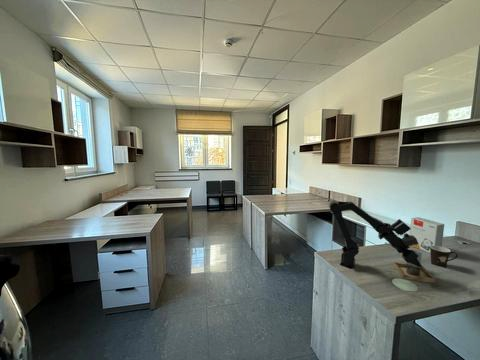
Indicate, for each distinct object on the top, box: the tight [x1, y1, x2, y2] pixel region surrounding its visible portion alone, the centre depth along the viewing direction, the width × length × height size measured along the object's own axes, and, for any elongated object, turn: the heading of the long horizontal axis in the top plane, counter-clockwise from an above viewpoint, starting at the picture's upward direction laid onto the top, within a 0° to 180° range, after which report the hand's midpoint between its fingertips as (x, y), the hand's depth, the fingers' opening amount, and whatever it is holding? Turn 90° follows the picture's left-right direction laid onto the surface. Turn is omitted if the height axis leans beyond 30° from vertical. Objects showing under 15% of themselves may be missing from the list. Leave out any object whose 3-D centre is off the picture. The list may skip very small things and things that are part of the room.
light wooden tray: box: [392, 261, 437, 284], centre depth 112 cm, size 14×14×2 cm
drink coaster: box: [391, 277, 419, 292], centre depth 103 cm, size 10×10×1 cm
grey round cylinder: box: [406, 249, 423, 276], centre depth 111 cm, size 6×6×12 cm
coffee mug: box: [429, 245, 458, 268], centre depth 119 cm, size 12×9×10 cm
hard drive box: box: [409, 216, 445, 254], centre depth 140 cm, size 16×8×20 cm, turn 17°
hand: (416, 262), depth 111 cm, fingers open, 9 cm apart
